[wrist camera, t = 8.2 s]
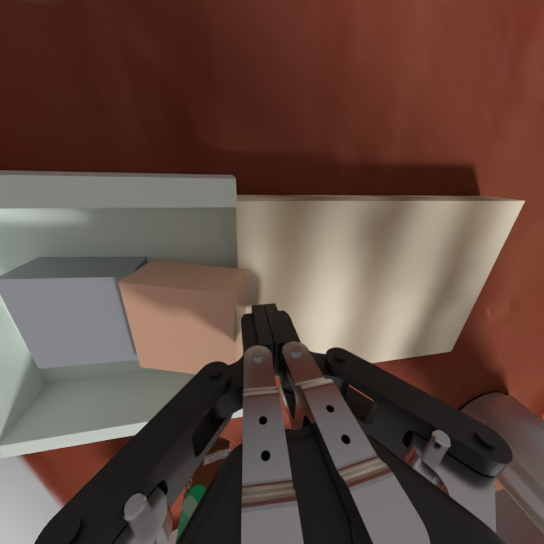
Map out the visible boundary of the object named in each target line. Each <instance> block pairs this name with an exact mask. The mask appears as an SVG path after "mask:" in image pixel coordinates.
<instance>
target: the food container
mask: <svg viewBox="0 0 544 544" xmlns="http://www.w3.org/2000/svg"><path fill="white" fill-rule="evenodd" d="M229 453H230V441H229V442H224V443H220V444H217V445H215V446H212V447H211V449H210V450H209V452H208V453H207V455H206V456H205V458H204V459H203V460H202V462H201V463H200V465H199V466H198V468H197V469H196V471H195V472H194V474H193V475H192V477H191V478H190V480H189V481H188V483H187V484H186V488H185V493H184V499H183V504H182V510H181V515H180V521H179V527H178V532H177V538H176V542H177V540H178V538H179V537H180V535H181V533H182V531H183V530H184V528H185V526H186V524H187V523H188V521H189V519H190V517H191V516H192V514H193V512H194V510H195V509H196V507H197V505H198V503H199V502H200V500H201V498H202V496H203V494H204V493H205V491H206V489H207V487H208V486H209V484H210V482H211V480H212V479H213V477H214V475H215V473H216V472H217V470H218V468H219V466H220V465H221V463H222V462H223V461H224V459H225V458H226V456H227V455H228V454H229ZM175 544H176V543H175Z"/></svg>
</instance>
